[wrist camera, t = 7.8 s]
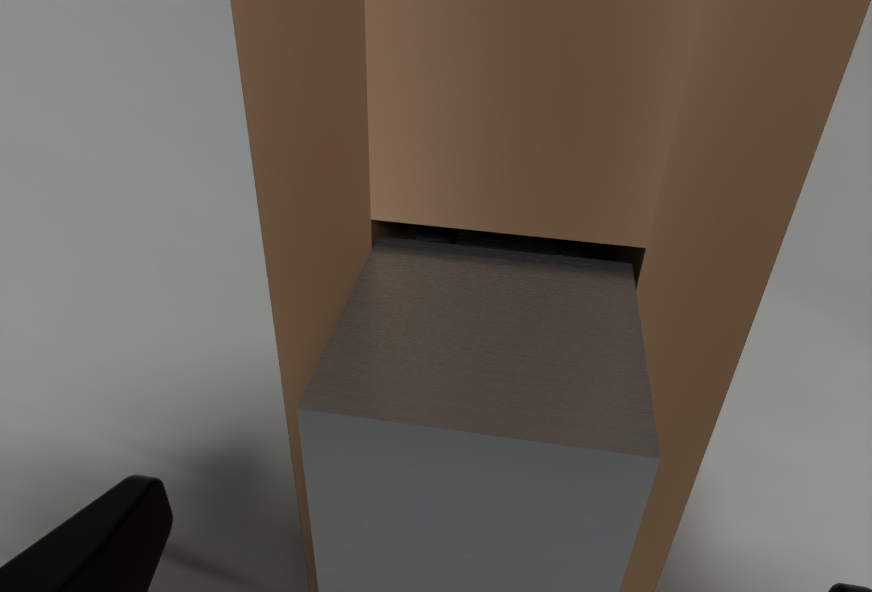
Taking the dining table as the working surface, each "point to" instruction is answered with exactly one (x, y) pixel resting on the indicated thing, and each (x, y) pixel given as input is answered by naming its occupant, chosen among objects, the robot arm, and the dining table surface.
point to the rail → (544, 167)
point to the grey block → (480, 422)
